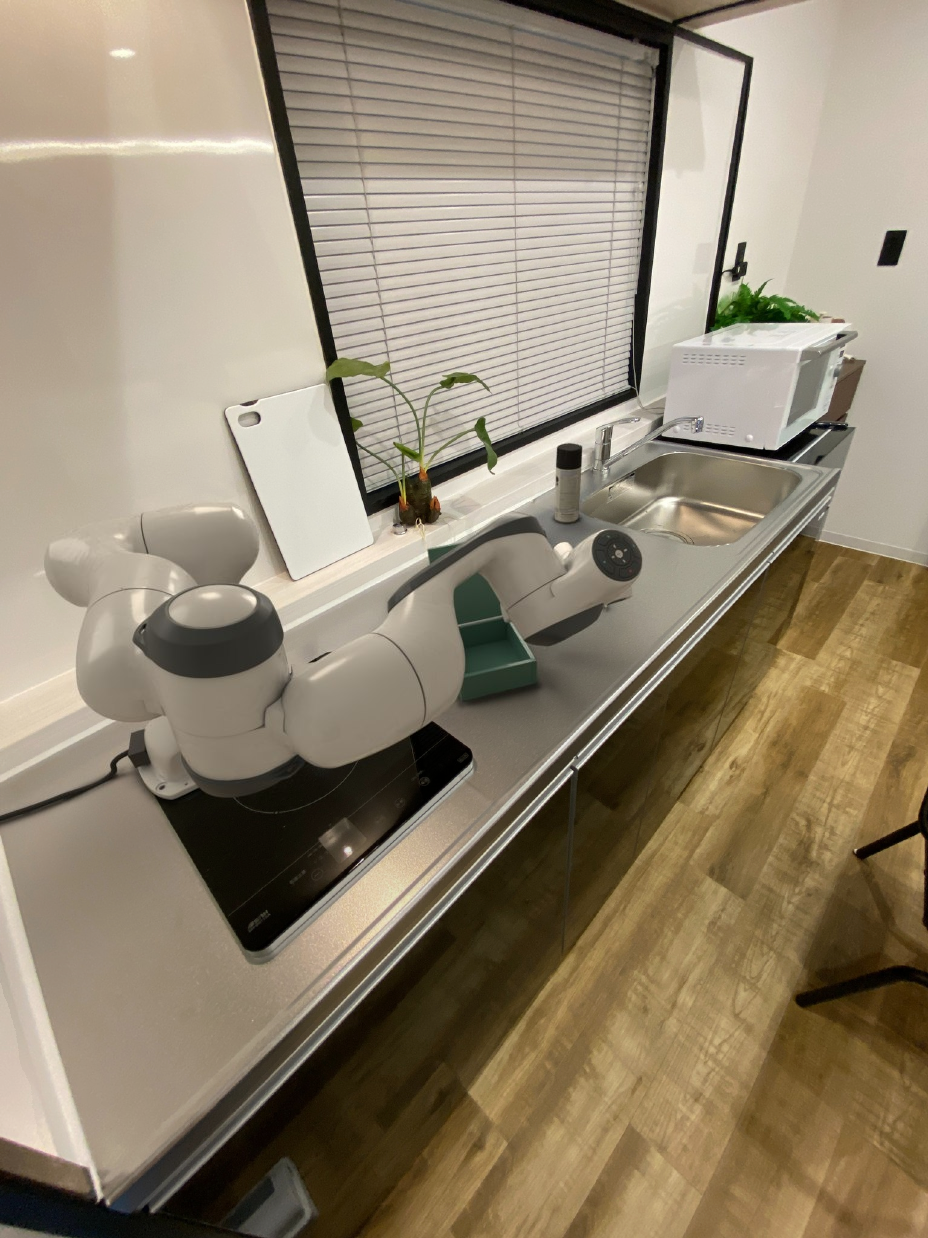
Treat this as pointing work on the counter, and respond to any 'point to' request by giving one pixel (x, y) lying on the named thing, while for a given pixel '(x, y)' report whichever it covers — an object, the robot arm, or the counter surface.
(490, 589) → the lid
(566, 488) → the spray can
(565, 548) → the unicorn horn
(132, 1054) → the counter surface
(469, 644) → the chest
